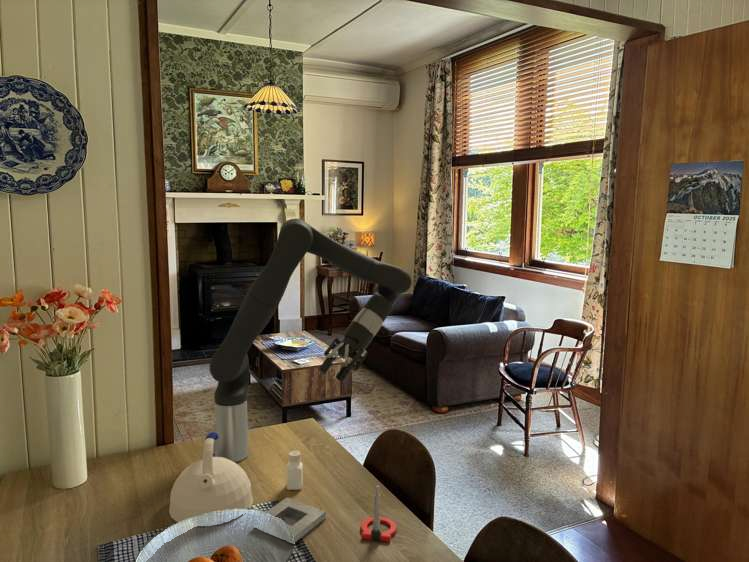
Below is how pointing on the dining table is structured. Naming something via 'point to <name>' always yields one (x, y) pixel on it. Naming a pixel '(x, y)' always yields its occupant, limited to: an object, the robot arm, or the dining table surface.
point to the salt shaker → (294, 471)
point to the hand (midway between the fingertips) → (329, 375)
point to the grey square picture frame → (298, 516)
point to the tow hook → (377, 524)
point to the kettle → (209, 485)
